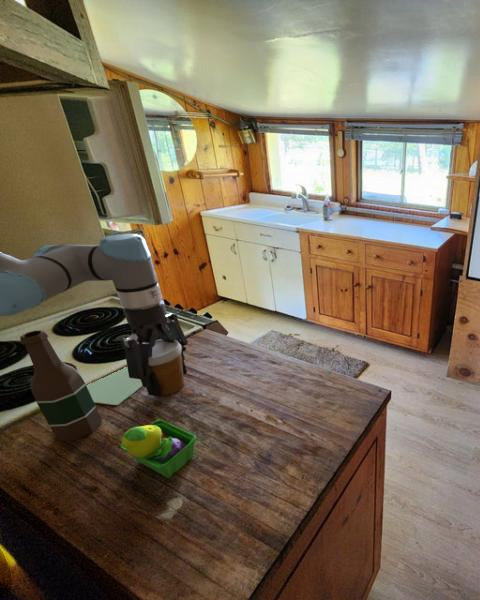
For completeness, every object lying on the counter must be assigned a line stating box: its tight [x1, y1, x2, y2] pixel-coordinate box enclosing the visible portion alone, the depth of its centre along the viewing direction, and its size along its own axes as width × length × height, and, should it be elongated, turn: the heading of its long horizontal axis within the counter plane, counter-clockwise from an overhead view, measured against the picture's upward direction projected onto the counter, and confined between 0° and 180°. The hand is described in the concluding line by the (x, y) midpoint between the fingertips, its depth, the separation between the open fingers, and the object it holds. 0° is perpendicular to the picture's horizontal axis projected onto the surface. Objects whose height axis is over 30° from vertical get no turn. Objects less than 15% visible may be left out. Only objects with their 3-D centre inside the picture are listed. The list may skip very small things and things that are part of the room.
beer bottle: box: [19, 329, 103, 442], centre depth 65 cm, size 8×8×24 cm
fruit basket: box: [120, 419, 197, 479], centre depth 62 cm, size 11×9×11 cm
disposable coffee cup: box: [143, 338, 185, 396], centre depth 81 cm, size 10×10×12 cm
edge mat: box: [86, 367, 143, 407], centre depth 84 cm, size 14×14×1 cm
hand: (169, 383), depth 83 cm, fingers closed on disposable coffee cup, 8 cm apart
